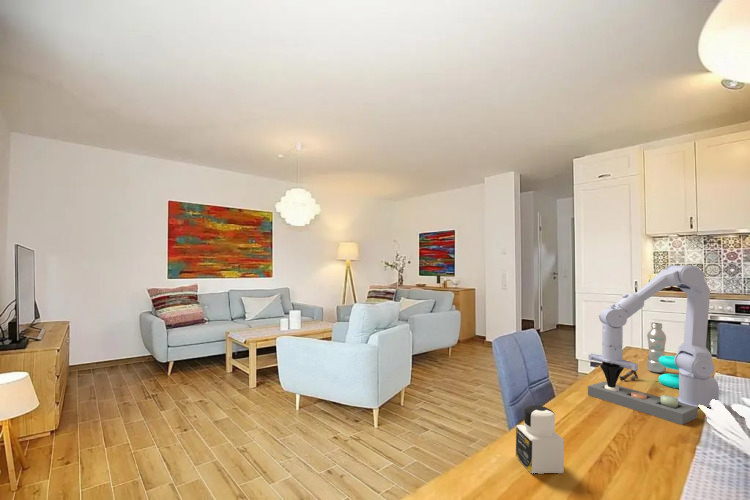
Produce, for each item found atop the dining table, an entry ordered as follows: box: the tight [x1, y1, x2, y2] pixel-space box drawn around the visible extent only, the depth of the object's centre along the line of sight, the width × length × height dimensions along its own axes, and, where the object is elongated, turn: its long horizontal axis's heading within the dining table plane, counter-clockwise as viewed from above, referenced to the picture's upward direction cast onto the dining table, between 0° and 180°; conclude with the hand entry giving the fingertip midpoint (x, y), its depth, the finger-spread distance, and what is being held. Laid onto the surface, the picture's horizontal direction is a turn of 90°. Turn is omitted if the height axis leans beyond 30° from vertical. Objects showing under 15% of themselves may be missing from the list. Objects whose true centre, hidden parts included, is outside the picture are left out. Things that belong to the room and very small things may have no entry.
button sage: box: [660, 394, 678, 409], centre depth 112 cm, size 4×4×3 cm
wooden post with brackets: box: [618, 369, 639, 382], centre depth 145 cm, size 2×8×4 cm, turn 108°
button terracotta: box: [631, 392, 647, 400], centre depth 118 cm, size 4×4×3 cm
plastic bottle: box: [646, 322, 667, 374], centre depth 157 cm, size 6×7×20 cm
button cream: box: [605, 385, 619, 392], centre depth 125 cm, size 4×4×3 cm
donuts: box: [658, 355, 679, 390], centre depth 140 cm, size 10×10×10 cm
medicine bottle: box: [515, 405, 565, 475], centre depth 82 cm, size 7×7×12 cm
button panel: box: [587, 381, 699, 426], centre depth 118 cm, size 26×10×3 cm, turn 31°
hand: (611, 386), depth 125 cm, fingers closed, pressing on button cream
